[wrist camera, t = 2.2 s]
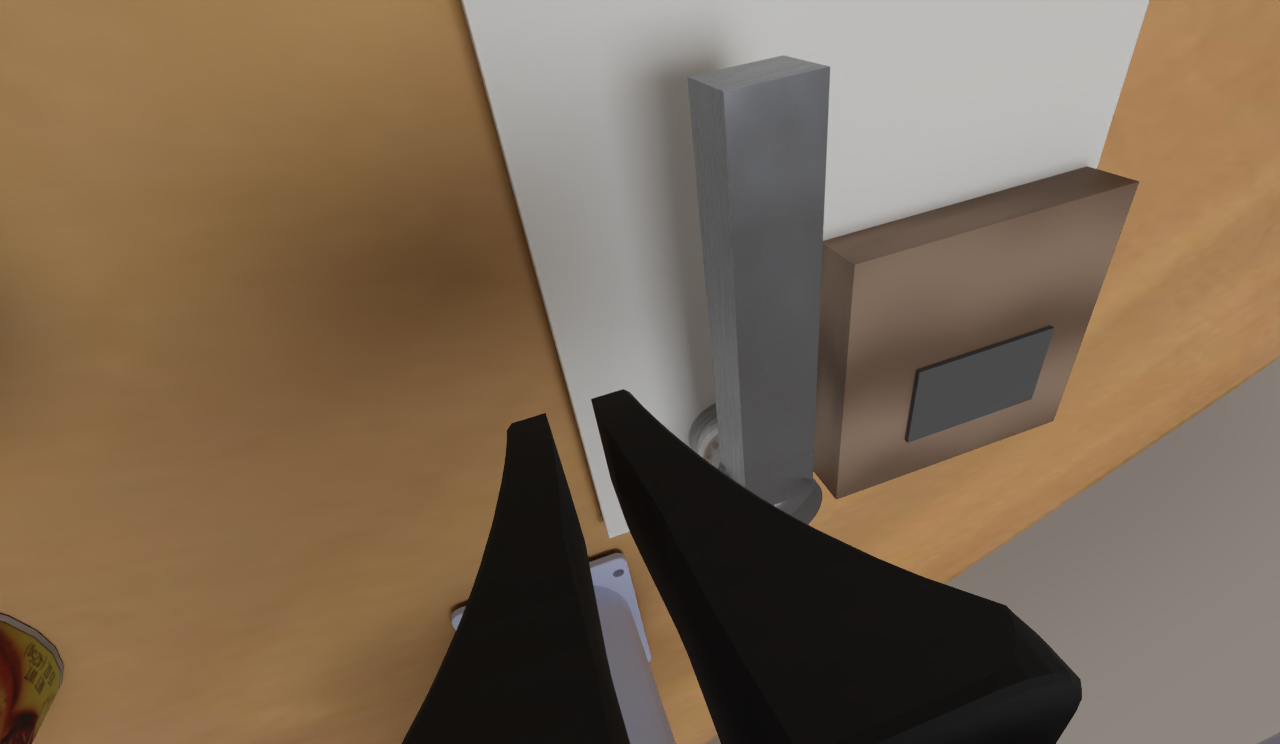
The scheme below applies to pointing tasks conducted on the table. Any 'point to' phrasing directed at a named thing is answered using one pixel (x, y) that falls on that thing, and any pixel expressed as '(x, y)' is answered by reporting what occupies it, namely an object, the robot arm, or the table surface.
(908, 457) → the door slab
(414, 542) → the table surface
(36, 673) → the canned food
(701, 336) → the plate
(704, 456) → the post
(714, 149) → the bar
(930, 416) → the pad
